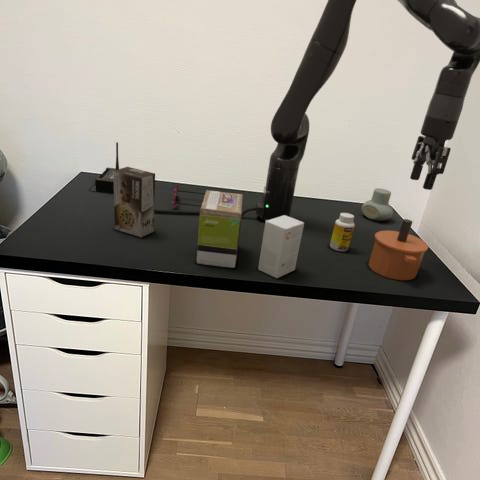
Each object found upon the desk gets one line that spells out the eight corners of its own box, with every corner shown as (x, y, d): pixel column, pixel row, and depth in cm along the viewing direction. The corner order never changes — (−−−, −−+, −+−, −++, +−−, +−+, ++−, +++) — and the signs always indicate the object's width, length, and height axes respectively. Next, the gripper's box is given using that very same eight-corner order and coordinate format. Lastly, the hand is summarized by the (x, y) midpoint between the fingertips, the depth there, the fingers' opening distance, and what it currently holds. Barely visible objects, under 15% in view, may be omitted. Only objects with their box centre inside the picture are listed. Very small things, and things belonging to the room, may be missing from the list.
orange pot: (379, 282, 122) (388, 254, 118) (360, 253, 138) (367, 227, 133) (427, 287, 123) (437, 259, 119) (402, 257, 139) (411, 232, 135)
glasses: (173, 197, 159) (174, 182, 157) (222, 202, 161) (223, 188, 159) (171, 211, 148) (171, 195, 145) (223, 216, 150) (225, 201, 147)
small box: (275, 261, 125) (284, 214, 118) (295, 270, 122) (305, 222, 115) (256, 269, 119) (264, 220, 112) (276, 279, 116) (286, 228, 109)
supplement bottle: (338, 253, 135) (347, 219, 130) (325, 245, 139) (333, 212, 134) (352, 251, 138) (361, 217, 133) (339, 243, 142) (347, 210, 137)
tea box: (201, 241, 130) (206, 188, 122) (237, 246, 130) (244, 193, 123) (195, 264, 117) (200, 206, 109) (235, 269, 118) (243, 212, 110)
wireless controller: (102, 177, 168) (101, 126, 159) (141, 182, 169) (142, 132, 160) (86, 194, 151) (84, 138, 142) (130, 199, 152) (131, 144, 143)
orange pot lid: (383, 252, 120) (391, 227, 116) (367, 232, 132) (374, 209, 128) (435, 257, 121) (444, 233, 118) (415, 237, 133) (423, 214, 130)
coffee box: (154, 231, 132) (156, 173, 123) (141, 238, 127) (142, 178, 118) (127, 223, 134) (127, 165, 126) (113, 229, 129) (112, 169, 121)
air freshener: (355, 214, 169) (363, 187, 164) (369, 212, 174) (376, 185, 169) (381, 225, 163) (389, 196, 157) (394, 222, 168) (402, 194, 162)
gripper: (416, 109, 117) (396, 175, 126) (440, 119, 105) (417, 191, 114) (444, 113, 118) (423, 178, 126) (471, 123, 106) (446, 194, 114)
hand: (420, 184), depth 120 cm, fingers open, 8 cm apart
